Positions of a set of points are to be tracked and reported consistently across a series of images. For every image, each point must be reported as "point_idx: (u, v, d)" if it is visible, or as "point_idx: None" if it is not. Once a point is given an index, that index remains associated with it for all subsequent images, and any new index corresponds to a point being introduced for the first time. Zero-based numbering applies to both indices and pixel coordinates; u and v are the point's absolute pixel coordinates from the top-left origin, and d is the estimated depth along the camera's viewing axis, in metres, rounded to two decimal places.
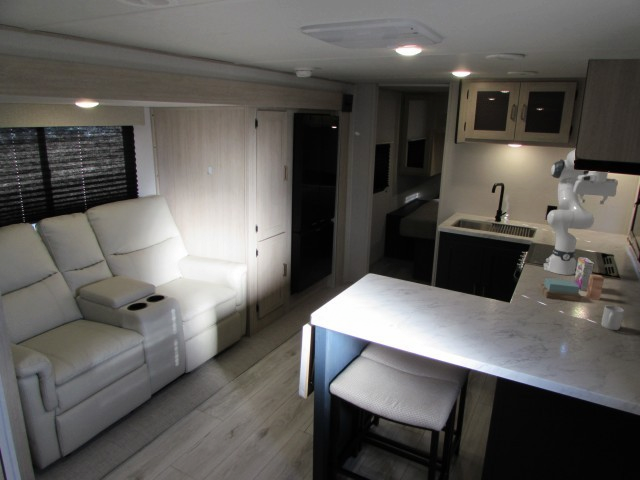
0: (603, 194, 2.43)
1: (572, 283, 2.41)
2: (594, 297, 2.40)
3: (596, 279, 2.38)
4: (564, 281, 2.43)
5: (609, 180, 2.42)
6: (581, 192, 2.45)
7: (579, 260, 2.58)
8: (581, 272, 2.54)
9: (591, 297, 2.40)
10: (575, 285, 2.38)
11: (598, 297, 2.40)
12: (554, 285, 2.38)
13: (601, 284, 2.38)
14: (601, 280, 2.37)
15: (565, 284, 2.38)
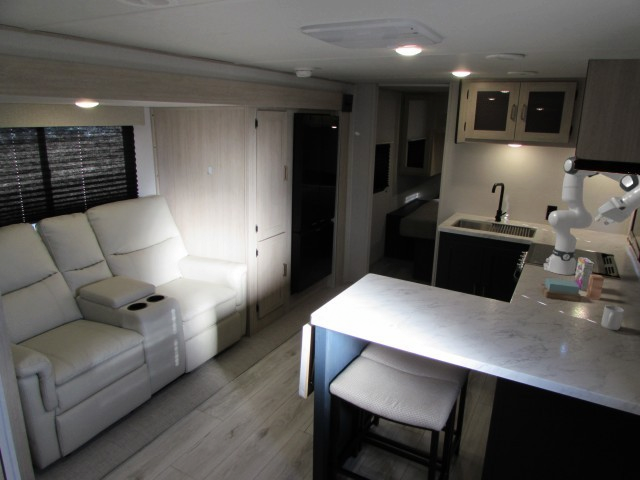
0: (615, 220, 2.37)
1: (572, 283, 2.41)
2: (594, 297, 2.40)
3: (596, 279, 2.38)
4: (564, 281, 2.43)
5: None
6: (605, 215, 2.32)
7: (579, 260, 2.58)
8: (581, 272, 2.54)
9: (591, 297, 2.40)
10: (575, 285, 2.38)
11: (598, 297, 2.40)
12: (554, 285, 2.38)
13: (601, 284, 2.38)
14: (601, 280, 2.37)
15: (565, 284, 2.38)
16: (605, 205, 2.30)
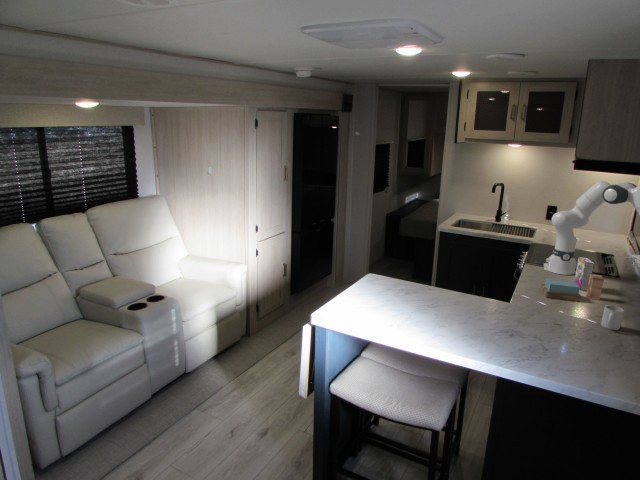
0: None
1: (572, 283, 2.41)
2: (594, 297, 2.40)
3: (596, 279, 2.38)
4: (564, 281, 2.43)
5: None
6: None
7: (579, 260, 2.58)
8: (581, 272, 2.54)
9: (591, 297, 2.40)
10: (575, 285, 2.37)
11: (598, 297, 2.40)
12: (554, 285, 2.38)
13: (601, 284, 2.38)
14: (601, 280, 2.37)
15: (565, 285, 2.38)
16: None
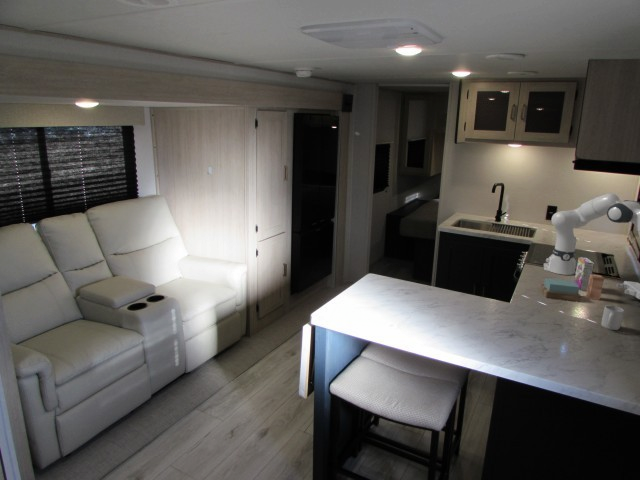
0: None
1: (572, 283, 2.42)
2: (594, 297, 2.40)
3: (596, 279, 2.38)
4: (564, 281, 2.44)
5: None
6: None
7: (579, 260, 2.58)
8: (581, 272, 2.54)
9: (591, 297, 2.40)
10: (575, 285, 2.38)
11: (598, 297, 2.40)
12: (554, 285, 2.38)
13: (601, 284, 2.38)
14: (601, 280, 2.37)
15: (565, 284, 2.38)
16: None
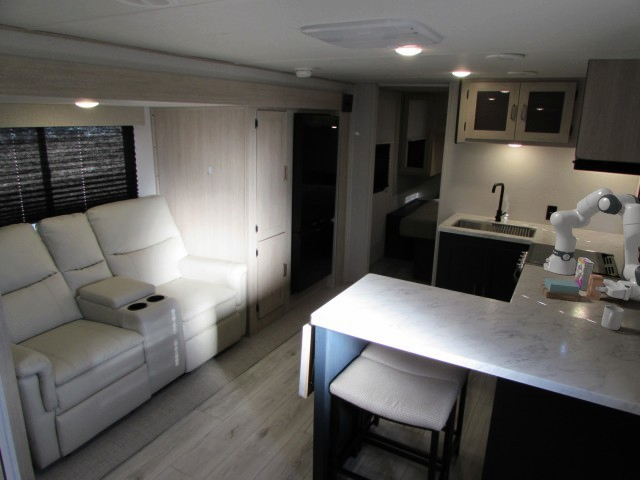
0: None
1: (572, 283, 2.42)
2: (594, 297, 2.40)
3: (596, 279, 2.38)
4: (564, 281, 2.43)
5: None
6: None
7: (579, 260, 2.58)
8: (581, 272, 2.54)
9: (591, 297, 2.40)
10: (575, 285, 2.38)
11: (598, 297, 2.40)
12: (555, 285, 2.38)
13: (601, 284, 2.38)
14: (601, 280, 2.37)
15: (566, 284, 2.38)
16: (620, 292, 2.30)
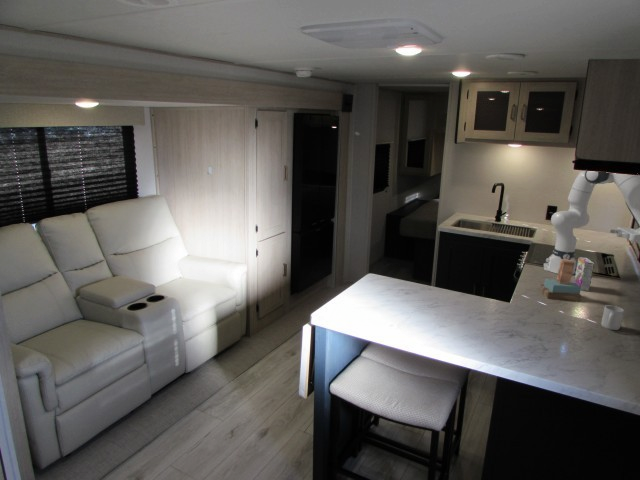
0: None
1: (571, 282, 2.42)
2: (564, 282, 2.39)
3: (566, 264, 2.36)
4: None
5: None
6: None
7: (579, 260, 2.58)
8: (581, 272, 2.54)
9: (561, 282, 2.39)
10: (576, 285, 2.38)
11: (568, 282, 2.38)
12: (557, 286, 2.37)
13: (571, 269, 2.36)
14: (571, 265, 2.36)
15: (567, 285, 2.38)
16: None
